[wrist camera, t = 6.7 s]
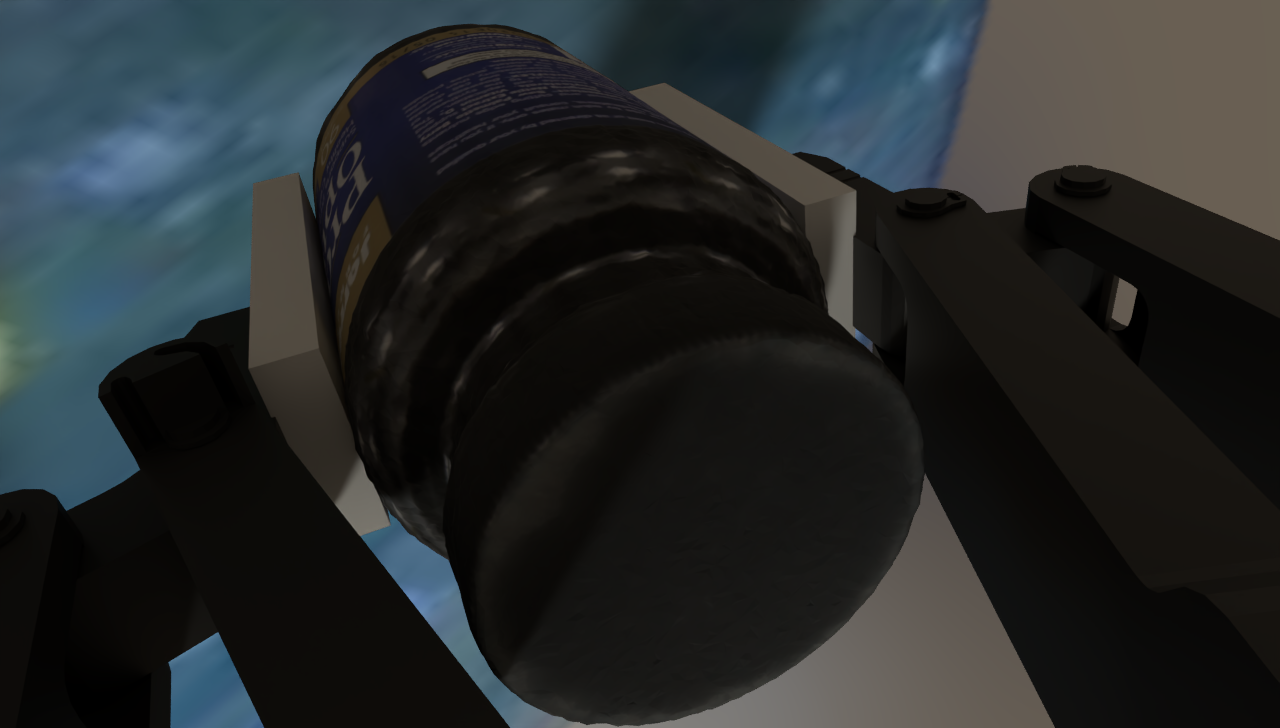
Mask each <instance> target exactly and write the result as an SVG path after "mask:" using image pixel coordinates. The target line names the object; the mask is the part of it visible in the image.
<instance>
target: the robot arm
mask: <svg viewBox="0 0 1280 728" xmlns="http://www.w3.org/2000/svg"><path fill="white" fill-rule="evenodd" d="M629 92H630V93H631V94H633V95H634V96H636V97H637V98H639V99H640V100H642V101H644V102H645V103H647V104H648V105H650V106H651V107H652V108H654V109H655V110H657V111H658V112H660V113H661V114H663V115H664V116H666V117H667V118H669V119H670V120H672V121H673V122H675V123H676V124H678V125H679V126H681V127H682V128H684V129H686V130H687V131H689V132H690V133H691V134H693V135H694V136H696V137H697V138H699V139H700V140H702V141H704V142H705V143H707V144H708V145H710V146H711V147H712V148H714V149H716V150H717V151H719V152H720V153H722V154H724V155H725V156H727V157H728V158H731V159H733V160H735V161H737V162H738V163H740V164H741V165H743V166H744V167H746V168H748V169H749V170H750V171H751V172H752V173H753V174H754V175H755V177H756V178H757V179H758V180H760V181H761V182H762V183H763V184H765V185H766V186H768V187H769V188H770V189H771V190H772V191H773V192H774V193H775V194H776V195H777V196H778V197H779V198H780V199H781V201H782V202H783V204H784V205H785V206H786V207H787V208H788V210H789V211H790V212H791V214H792V215H793V217H794V219H795V221H796V223H797V224H798V225H799V226H800V228H801V229H802V231H803V232H804V234H805V236H806V238H807V239H808V240H809V241H810V243H811V247H812V249H813V254H814V257H815V258H816V260H817V261H818V264H819V266H820V273H821V275H822V278H823V280H824V283H825V295H826V299H827V302H828V313H829V316H831V317H832V318H833V319H835V320H836V321H837V322H839V323H840V324H841V325H842V326H843V327H844V328H845V329H846V330H847V331H848V332H849V333H850V334H851V335H852V336H853V337H854V338H855V328H856V329H857V330H858V331H860V332H861V333H862V334H863V335H865V336H866V337H867V338H868V339H870V340H871V341H872V342H873V353H872V354H874V355H875V356H876V357H878V358H879V359H880V360H881V361H882V362H883V363H884V364H885V365H886V366H887V367H888V368H889V369H890V371H891V372H892V373H893V374H894V375H895V376H896V377H897V378H898V379H899V380H900V382H901V384H902V385H903V387H904V389H905V390H906V392H907V393H908V394H909V396H910V399H911V401H912V403H913V405H914V408H915V411H916V413H917V416H918V419H919V422H920V427H921V431H922V435H923V439H924V450H925V457H924V461H925V469H924V470H925V474H926V476H927V478H928V480H929V481H930V483H931V485H932V487H933V489H934V491H935V493H936V495H937V497H938V499H939V501H940V503H941V505H942V507H943V509H944V511H945V512H946V515H947V517H948V519H949V521H950V522H951V525H952V527H953V529H954V530H955V532H956V534H957V536H958V538H959V540H960V542H961V544H962V546H963V548H964V550H965V552H966V554H967V556H968V558H969V560H970V562H971V564H972V566H973V568H974V570H975V571H976V573H977V576H978V577H979V579H980V581H981V583H982V585H983V587H984V589H985V591H986V593H987V595H988V597H989V599H990V601H991V603H992V605H993V607H994V609H995V611H996V613H997V615H998V617H999V619H1000V621H1001V622H1002V624H1003V626H1004V628H1005V630H1006V632H1007V634H1008V636H1009V638H1010V640H1011V642H1012V644H1013V646H1014V648H1015V650H1016V652H1017V654H1018V656H1019V658H1020V660H1021V661H1022V663H1023V666H1024V668H1025V669H1026V672H1027V673H1028V675H1029V677H1030V679H1031V681H1032V683H1033V685H1034V687H1035V689H1036V691H1037V693H1038V695H1039V697H1040V699H1041V701H1042V703H1043V705H1044V707H1045V709H1046V711H1047V713H1048V715H1049V717H1050V718H1051V720H1052V722H1053V724H1054V726H1055V728H1280V240H1277V239H1275V238H1272V237H1270V236H1268V235H1265V234H1263V233H1260V232H1258V231H1255V230H1253V229H1251V228H1248V227H1246V226H1244V225H1242V224H1239V223H1237V222H1234V221H1232V220H1229V219H1227V218H1225V217H1223V216H1220V215H1218V214H1215V213H1213V212H1211V211H1208V210H1206V209H1204V208H1201V207H1199V206H1197V205H1194V204H1192V203H1189V202H1187V201H1185V200H1182V199H1180V198H1177V197H1175V196H1173V195H1170V194H1168V193H1165V192H1163V191H1161V190H1158V189H1156V188H1154V187H1151V186H1149V185H1147V184H1144V183H1142V182H1140V181H1137V180H1135V179H1132V178H1130V177H1128V176H1125V175H1123V174H1119V173H1116V172H1113V171H1109V170H1104V169H1097V168H1093V167H1092V166H1088V165H1078V167H1076V165H1073V166H1064V167H1063V168H1061V169H1055V170H1050V171H1046V172H1044V173H1041V174H1039V175H1037V176H1035V177H1034V178H1033V179H1032V180H1031V181H1030V182H1029V187H1028V195H1027V203H1026V208H1023V209H1015V210H1007V211H999V212H992V213H986V212H985V211H984V210H982V208H981V207H980V206H979V205H978V204H977V203H976V202H975V201H974V200H973V199H971V198H969V197H967V196H966V195H964V194H962V193H960V192H958V191H952V190H948V189H938V188H917V189H908V190H904V191H899V192H895V193H893V192H891V191H889V190H887V189H885V188H883V187H881V186H880V185H878V184H876V183H874V182H872V181H870V180H868V179H866V178H865V177H862V178H861V177H860V175H859V174H857V173H855V172H853V171H851V170H850V169H847V170H846V169H845V167H844V166H842V165H840V164H838V163H836V162H835V161H833V160H831V159H829V158H827V157H822V156H818V155H813V154H808V153H803V152H798V153H794V154H790V153H789V152H787V151H785V150H783V149H782V148H780V147H778V146H776V145H774V144H773V143H771V142H769V141H767V140H766V139H764V138H762V137H760V136H758V135H757V134H755V133H753V132H751V131H750V130H748V129H746V128H744V127H742V126H741V125H739V124H737V123H735V122H734V121H732V120H730V119H728V118H726V117H725V116H723V115H721V114H719V113H718V112H716V111H714V110H712V109H710V108H709V107H707V106H705V105H703V104H702V103H700V102H698V101H696V100H694V99H693V98H691V97H689V96H687V95H686V94H684V93H682V92H680V91H678V90H677V89H675V88H673V87H671V86H670V85H668V84H666V83H662V84H657V85H653V86H649V87H645V88H641V89H637V90H633V91H629ZM1119 278H1121V279H1123V280H1125V281H1126V282H1128V283H1130V284H1132V285H1133V286H1134V287H1135V288H1137V289H1138V290H1137V295H1136V299H1135V304H1134V309H1133V313H1132V318H1131V320H1130V323H1129V325H1128V326H1125V325H1122V324H1120V323H1119V322H1117V321H1115V320H1114V319H1112V312H1113V308H1114V302H1115V298H1116V293H1117V288H1118V283H1119ZM98 398H99V399H100V401H101V403H102V404H103V406H104V408H105V409H106V411H107V413H108V414H109V416H110V418H111V419H112V421H113V423H114V424H115V426H116V428H117V429H118V431H119V433H120V434H121V436H122V438H123V439H124V441H125V443H126V444H127V446H128V448H129V449H130V451H131V453H132V454H133V456H134V458H135V460H136V462H137V464H138V466H139V468H140V470H139V471H138V472H136V473H135V474H134V475H132V476H131V477H129V478H128V479H127V480H125V481H124V482H122V483H120V484H118V485H117V486H115V487H113V488H111V489H110V490H108V491H106V492H104V493H102V494H100V495H98V496H96V497H94V498H92V499H90V500H88V501H86V502H84V503H82V504H80V505H78V506H76V507H74V508H72V509H70V510H67V511H66V510H65V509H64V507H63V506H62V504H61V503H60V501H59V500H58V499H57V497H56V496H55V495H53V494H51V493H49V492H47V491H45V490H43V489H22V490H18V491H14V492H9V493H5V494H1V495H0V728H170V717H171V670H170V666H169V663H168V662H169V661H171V660H172V659H174V658H176V657H177V656H179V655H181V654H182V653H184V652H186V651H187V650H189V649H191V648H192V647H194V646H196V645H197V644H199V643H201V642H202V641H204V640H205V639H207V638H209V637H210V636H212V635H214V634H215V633H217V632H219V634H220V637H221V639H222V641H223V643H224V645H225V647H226V649H227V651H228V653H229V655H230V657H231V659H232V661H233V664H234V666H235V668H236V670H237V672H238V674H239V676H240V678H241V680H242V682H243V684H244V686H245V689H246V691H247V693H248V695H249V697H250V699H251V701H252V703H253V705H254V707H255V709H256V711H257V714H258V716H259V718H260V720H261V722H262V724H263V726H264V728H510V727H509V726H508V724H507V723H506V722H505V720H504V719H503V718H502V717H501V715H500V714H499V713H498V711H497V710H496V709H495V708H494V706H493V705H492V704H491V703H490V701H489V700H488V699H487V697H486V696H485V695H484V694H483V692H482V691H481V690H480V689H479V687H478V686H477V685H476V683H475V682H474V681H473V680H472V678H471V677H470V676H469V675H468V673H467V672H466V671H465V669H464V668H463V667H462V666H461V664H460V663H459V662H458V661H457V659H456V658H455V657H454V655H453V654H452V653H451V652H450V650H449V649H448V648H447V646H446V645H445V644H444V643H443V641H442V640H441V639H440V638H439V636H438V635H437V634H436V632H435V631H434V630H433V629H432V627H431V626H430V625H429V624H428V622H427V621H426V620H425V618H424V617H423V616H422V615H421V613H420V612H419V611H418V610H417V608H416V607H415V606H414V604H413V603H412V602H411V601H410V599H409V598H408V597H407V595H406V594H405V593H404V592H403V590H402V589H401V588H400V587H399V585H398V584H397V583H396V581H395V580H394V579H393V578H392V576H391V575H390V574H389V573H388V571H387V570H386V569H385V567H384V566H383V565H382V564H381V562H380V561H379V560H378V559H377V557H376V556H375V555H374V553H373V552H372V551H371V550H370V548H369V547H368V546H367V544H366V543H365V542H364V541H363V539H362V538H361V537H360V536H361V535H364V534H367V533H370V532H373V531H376V530H379V529H381V528H384V527H387V526H390V520H389V514H388V509H387V507H385V506H384V505H383V504H382V502H381V500H380V497H379V495H378V494H377V491H376V489H375V487H374V485H373V483H372V482H371V481H370V480H369V479H368V477H367V475H366V472H365V468H364V464H363V462H362V461H361V459H360V457H359V455H358V453H357V451H356V450H355V442H354V437H353V432H352V427H351V424H350V421H349V415H348V409H347V405H346V402H345V387H344V381H343V375H342V371H341V364H340V358H339V352H338V346H337V340H336V334H335V328H334V323H333V318H332V311H331V304H330V298H329V292H328V286H327V280H326V275H325V270H324V262H323V255H322V248H321V243H320V237H319V231H318V227H317V222H316V219H315V216H314V213H313V210H312V208H311V205H310V202H309V200H308V197H307V194H306V192H305V189H304V186H303V183H302V181H301V178H300V175H299V173H294V174H290V175H286V176H282V177H278V178H274V179H270V180H266V181H262V182H258V183H253V214H252V252H251V291H250V307H247V308H243V309H240V310H236V311H233V312H229V313H225V314H222V315H218V316H215V317H211V318H207V319H204V320H200V321H198V322H197V324H196V325H195V326H194V327H193V328H192V329H191V331H190V332H189V333H188V334H187V335H186V336H185V337H184V338H180V339H175V340H172V341H168V342H165V343H162V344H159V345H156V346H153V347H150V348H148V349H146V350H144V351H142V352H140V353H138V354H136V355H134V356H132V357H130V358H128V359H127V360H125V361H124V362H123V363H121V364H120V365H119V366H117V367H116V368H114V369H113V370H112V371H110V372H109V373H108V375H107V376H106V377H105V379H104V380H103V381H102V382H101V384H100V385H99V393H98Z"/></svg>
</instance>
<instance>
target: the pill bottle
mask: <svg viewBox="0 0 1280 728" xmlns="http://www.w3.org/2000/svg"><path fill="white" fill-rule="evenodd" d="M313 194H314V203H315V214H316V222H317V227H318V231H319V237H320V243H321V248H322V255H323V262H324V270H325V275H326V280H327V286H328V292H329V298H330V304H331V311H332V318H333V323H334V328H335V334H336V340H337V346H338V352H339V358H340V364H341V371H342V375H343V381H344V387H345V402H346V405H347V409H348V415H349V421H350V424H351V427H352V432H353V437H354V442H355V450H356V451H357V453H358V455H359V457H360V459H361V461H362V462H363V464H364V468H365V472H366V475H367V477H368V479H369V480H370V481H371V482H372V483H373V485H374V487H375V489H376V491H377V494H378V495H379V497H380V500H381V502H382V504H383V505H384V506H385V507H387V509H388V510H389V512H390V513H391V515H392V516H394V517H395V518H397V520H398V521H399V522H400V523H401V524H402V526H403V527H404V528H405V530H406V531H407V532H408V533H409V534H411V535H413V536H415V537H416V538H417V539H418V540H419V541H420V542H421V543H423V544H425V545H426V546H428V547H429V548H431V549H432V550H433V551H435V552H436V553H438V554H439V555H441V556H443V557H444V558H446V559H448V560H449V562H450V565H451V568H452V570H453V573H454V576H455V579H456V581H457V584H458V586H459V589H460V593H461V598H462V602H463V606H464V609H465V613H466V616H467V620H468V624H469V627H470V630H471V632H472V635H473V637H474V639H475V641H476V644H477V646H478V648H479V650H480V652H481V654H482V655H483V656H484V658H485V660H486V661H487V663H488V665H489V667H490V669H491V670H492V672H493V674H494V675H495V676H496V677H497V678H498V679H499V680H500V681H501V682H502V683H503V684H504V685H505V686H506V687H507V688H508V689H509V690H510V691H511V692H513V693H514V694H516V695H517V696H518V697H519V698H521V699H522V700H523V701H524V702H526V703H528V704H530V705H532V706H534V707H536V708H538V709H540V710H542V711H544V712H546V713H549V714H551V715H553V716H558V717H563V718H564V719H566V720H568V721H572V722H580V723H583V724H586V725H590V724H596V723H607V724H611V725H615V726H623V725H634V726H640V725H644V724H652V723H660V722H665V721H669V720H677V719H680V718H683V717H686V716H688V715H692V714H696V713H700V712H702V711H705V710H707V709H714V708H716V707H719V706H721V705H723V704H725V703H727V702H729V701H731V700H734V699H737V698H740V697H741V696H743V695H745V694H746V693H749V692H751V691H753V690H755V689H757V688H758V687H760V686H762V685H764V684H766V683H768V682H769V681H771V680H773V679H776V678H777V677H778V676H780V675H781V674H783V673H784V672H785V671H787V670H789V669H790V668H792V667H793V666H795V665H797V664H798V663H799V662H801V661H802V660H803V659H804V658H806V657H807V656H808V655H809V654H811V653H812V652H813V651H815V650H816V649H817V648H819V647H820V646H821V645H822V644H824V643H825V642H826V641H827V640H828V639H829V638H831V637H832V636H833V635H834V634H835V633H836V632H837V631H838V630H839V629H840V628H842V627H843V626H844V625H845V624H846V623H847V622H848V621H849V620H850V618H851V617H852V616H853V615H854V613H855V612H856V611H857V610H858V609H859V608H860V607H861V606H862V605H863V604H864V603H865V601H866V600H867V599H868V598H869V597H870V596H871V595H872V593H874V591H875V589H876V587H877V586H878V584H879V583H880V581H881V580H882V579H883V577H884V576H885V574H886V573H887V572H888V570H889V569H890V567H891V566H892V565H893V562H894V560H895V559H896V557H897V555H898V554H899V552H900V550H901V548H902V546H903V544H904V542H905V539H906V537H907V535H908V532H909V529H910V526H911V523H912V520H913V517H914V514H915V513H916V511H917V509H918V507H919V505H920V497H921V492H922V488H923V487H922V485H923V481H924V475H925V470H924V469H925V461H924V457H925V450H924V439H923V435H922V431H921V427H920V422H919V419H918V416H917V413H916V411H915V408H914V405H913V403H912V401H911V399H910V396H909V394H908V393H907V392H906V390H905V389H904V387H903V385H902V384H901V382H900V380H899V379H898V378H897V377H896V376H895V375H894V374H893V373H892V372H891V371H890V369H889V368H888V367H887V366H886V365H885V364H884V363H883V362H882V361H881V360H880V359H879V358H878V357H876V356H875V355H874V354H872V353H871V352H870V351H869V350H868V349H867V348H866V347H865V346H864V345H863V344H862V343H860V342H859V341H858V340H857V339H855V338H854V337H853V336H852V335H851V334H850V333H849V332H848V331H847V330H846V329H845V328H844V327H843V326H842V325H841V324H840V323H839V322H837V321H836V320H835V319H833V318H832V317H831V316H829V313H828V302H827V299H826V295H825V283H824V280H823V278H822V275H821V273H820V266H819V264H818V261H817V260H816V258H815V257H814V254H813V249H812V247H811V243H810V241H809V240H808V239H807V238H806V236H805V234H804V232H803V231H802V229H801V228H800V226H799V225H798V224H797V223H796V221H795V219H794V217H793V215H792V214H791V212H790V211H789V210H788V208H787V207H786V206H785V205H784V204H783V202H782V201H781V199H780V198H779V197H778V196H777V195H776V194H775V193H774V192H773V191H772V190H771V189H770V188H769V187H768V186H766V185H765V184H763V183H762V182H761V181H760V180H758V179H757V178H756V177H755V175H754V174H753V173H752V172H751V171H750V170H749V169H748V168H746V167H744V166H743V165H741V164H740V163H738V162H737V161H735V160H733V159H731V158H728V157H727V156H725V155H724V154H722V153H720V152H719V151H717V150H716V149H714V148H712V147H711V146H710V145H708V144H707V143H705V142H704V141H702V140H700V139H699V138H697V137H696V136H694V135H693V134H691V133H690V132H689V131H687V130H686V129H684V128H682V127H681V126H679V125H678V124H676V123H675V122H673V121H672V120H670V119H669V118H667V117H666V116H664V115H663V114H661V113H660V112H658V111H657V110H655V109H654V108H652V107H651V106H650V105H648V104H647V103H645V102H644V101H642V100H640V99H639V98H637V97H636V96H634V95H633V94H631V93H630V92H628V91H627V90H625V89H624V88H622V87H620V86H619V85H617V84H616V83H615V82H614V81H612V80H611V79H609V78H607V77H606V76H604V75H602V74H601V73H599V72H597V71H596V70H594V69H593V68H591V67H590V66H588V65H586V64H585V63H584V62H582V61H581V60H579V59H577V58H576V57H574V56H573V55H571V54H569V53H568V52H566V51H565V50H563V49H561V48H560V47H558V46H557V45H555V44H554V43H552V42H551V41H549V40H547V39H546V38H543V37H541V36H539V35H535V34H532V33H529V32H526V31H523V30H520V29H517V28H514V27H509V26H503V25H496V24H494V25H478V24H461V25H451V26H442V27H437V28H433V29H430V30H427V31H424V32H422V33H419V34H416V35H413V36H410V37H408V38H405V39H403V40H401V41H399V42H397V43H395V44H394V45H392V46H390V47H389V48H387V49H385V50H384V51H382V52H380V53H378V54H376V55H375V56H374V57H373V58H372V59H371V60H370V61H369V62H368V63H367V64H366V65H365V66H364V67H363V68H362V70H361V71H360V72H359V73H358V75H357V76H356V77H355V78H354V79H353V80H352V82H351V83H350V84H349V86H348V87H347V89H346V90H345V92H344V93H343V95H342V96H341V98H340V99H339V101H338V102H337V103H336V105H335V106H334V108H333V109H332V110H331V112H330V113H329V114H328V116H327V117H326V119H325V121H324V123H323V125H322V128H321V130H320V133H319V135H318V138H317V142H316V151H315V162H314V168H313Z"/></svg>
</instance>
